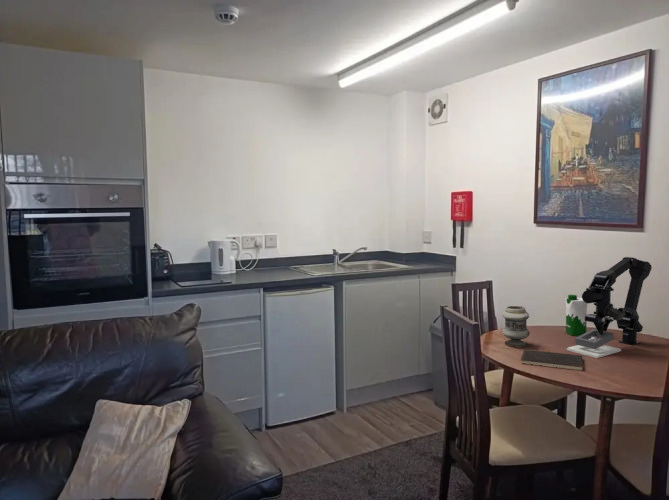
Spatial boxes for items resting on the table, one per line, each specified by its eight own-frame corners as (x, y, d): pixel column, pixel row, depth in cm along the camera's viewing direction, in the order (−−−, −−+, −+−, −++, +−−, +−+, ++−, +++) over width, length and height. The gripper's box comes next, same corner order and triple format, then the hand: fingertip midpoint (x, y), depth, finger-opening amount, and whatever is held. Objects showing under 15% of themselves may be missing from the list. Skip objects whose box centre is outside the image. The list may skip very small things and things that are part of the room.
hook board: (590, 343, 222) (591, 331, 221) (620, 351, 209) (621, 337, 209) (566, 350, 213) (567, 337, 212) (597, 358, 201) (597, 344, 200)
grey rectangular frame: (594, 334, 218) (593, 328, 218) (613, 339, 210) (613, 332, 210) (575, 344, 212) (575, 338, 211) (595, 349, 204) (594, 342, 203)
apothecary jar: (499, 340, 230) (499, 304, 229) (523, 340, 230) (524, 304, 228) (507, 347, 218) (507, 309, 216) (533, 347, 218) (533, 309, 216)
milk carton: (562, 332, 243) (563, 293, 241) (580, 331, 243) (581, 293, 241) (571, 336, 234) (572, 297, 233) (589, 336, 234) (590, 296, 232)
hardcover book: (582, 372, 186) (582, 366, 186) (520, 364, 196) (520, 359, 196) (582, 360, 200) (582, 354, 200) (524, 353, 210) (524, 348, 210)
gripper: (608, 306, 201) (608, 342, 202) (633, 301, 210) (632, 335, 211) (584, 302, 210) (583, 336, 212) (608, 297, 219) (607, 330, 221)
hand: (602, 334), depth 214 cm, fingers closed on grey rectangular frame, 2 cm apart
